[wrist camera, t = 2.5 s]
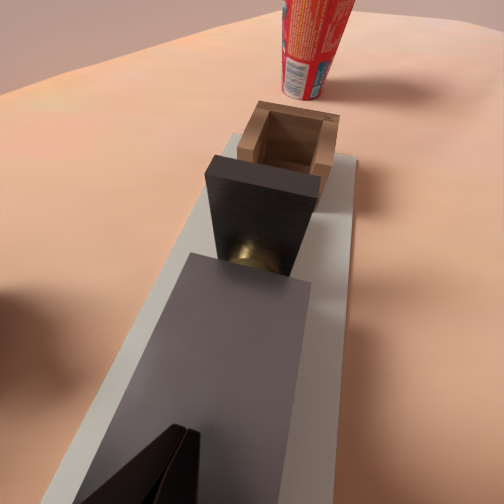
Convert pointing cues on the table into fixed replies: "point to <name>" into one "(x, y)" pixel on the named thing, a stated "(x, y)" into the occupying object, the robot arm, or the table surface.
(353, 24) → the table surface
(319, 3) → the cup
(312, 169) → the socket
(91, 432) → the board
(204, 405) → the sleeve
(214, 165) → the sliding bolt
